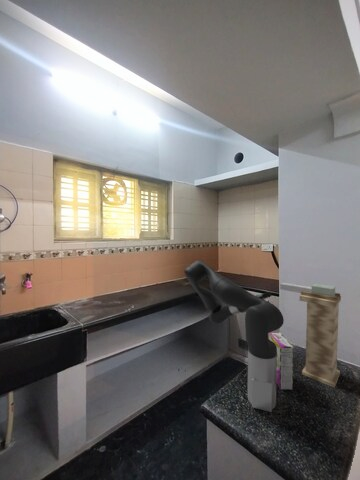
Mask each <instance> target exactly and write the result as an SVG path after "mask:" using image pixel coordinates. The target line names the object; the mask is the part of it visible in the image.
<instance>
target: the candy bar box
mask: <svg viewBox="0 0 360 480" xmlns="http://www.w3.org/2000/svg"><path fill="white" fill-rule="evenodd" d="M268 339H269V340H271V341H272V342H274V343H275V345H276V347H277V372H276V386H278V388H279V390H283V391H284V390H285V391H286V390H293V389H294V387H293V386H294V346H293V345H292V343H291V342H289V340H288V339H287V338H286V337H285V336H284V335H283V334H282V332H269V333H268Z"/></svg>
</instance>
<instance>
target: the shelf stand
mask: <svg viewBox="0 0 360 480" xmlns="http://www.w3.org/2000/svg"><path fill="white" fill-rule="evenodd" d="M341 300H342V296H341V293H339V292H335V297H331V296H325V295H320V294H314V293H308V292H303V291H301V293H300V295H299V300H298V301H300V302H306V329H305V333H306V335H305V340H306V341H305V366H304V367H303V369H302V371H301V375H303V376H305V377H308V378H310V379H312V380H315V381H317V382H319V383H322V384H324V385H327V386H329V387H331V388H334V389H335V388H336V386H337V382H338V380H339V377H340V375H341V371H340V370H339V369H338V367H337V365H338V342H339V340H338V339H339V338H338V337H339V335H338V334H339V333H338V332H339V310H340V309H339V308H340V307H339V306H340V304H339V303H340V302H341Z"/></svg>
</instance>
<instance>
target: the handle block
mask: <svg viewBox="0 0 360 480" xmlns="http://www.w3.org/2000/svg"><path fill="white" fill-rule="evenodd" d="M279 289H280V291H281V290H283V291H288V292H292V293H299V294H301V291H303V292H308V293H314V294H320V295H325V296H331V297H335V293H336V286H334V285H327V284H319V283H314V284H312V285H311V286H307V285H299V284H294V283H288V282H281V283H279Z"/></svg>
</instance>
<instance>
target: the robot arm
mask: <svg viewBox="0 0 360 480" xmlns="http://www.w3.org/2000/svg"><path fill="white" fill-rule="evenodd" d="M183 272H184V276H185V277H186V279H187V281H188V282H189V283H190V285H191V286H192V288H193V289H194V291H195V292H196V293H197V294H198V296H199V297H200V299H201V301H202V303H203V305H204V307H205V308H206V309H207V310H208V311H210V312H209V316H208V319H209V321H210V322H211V323H213V324H215V325H216V324H218V325H219V324H221V323H223V322H224V321H226V320H227V319H229V318H230V317H233V316H235V315H236V316H237V315H240V314H243V313H245V316H244V325H245V326H244V329H245V330H244V331H245V342H246V344H247V399H248V402H249V403H250V405H251V408H254V409H258V410H261V411H265V412H269V413H272V412H273V409H275V407H276V406H277V383H276V372H277V347H276V345H275V343H274V342H272V341H271V340H269V333H273V332H274V331H277V330H279V329H280V328H281V327H282V326H283V325H284V321H285V319H284V315H283V313H282V312H281V310H280V309H279V308H278V306H276V305H275V304H273V303H272V302H269V301H267V300H266V299H268V298H270V297H272V293H271V291H267V292H265V293H261V294H256V295H254V294H252V293H251V292H250V291H248V290H246V289H244V288H243V287H241V286H240V285H238V284H236V283H235V282H234V281H232V280H230V279H229V278H227V277H225V276H223V275H221V274H220V273H219V272H217V271H215V270H214V269H212V267H210V266H209V265H207V263H205V262H204V261H202V260H199V259H197V260H195V261H194V262H192V263H191V264H190V265H189V266H187V267H186V268H185V269H184V271H183ZM206 277H208V279H209V287H210V289H208V288H206V287H203V286H201V285H200V284H199V283H200V282H201V281H202V280H204V279H205V278H206ZM218 300H219V301H221V302H222V303H223V304H221V303H220V302H219V301H218Z"/></svg>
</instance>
